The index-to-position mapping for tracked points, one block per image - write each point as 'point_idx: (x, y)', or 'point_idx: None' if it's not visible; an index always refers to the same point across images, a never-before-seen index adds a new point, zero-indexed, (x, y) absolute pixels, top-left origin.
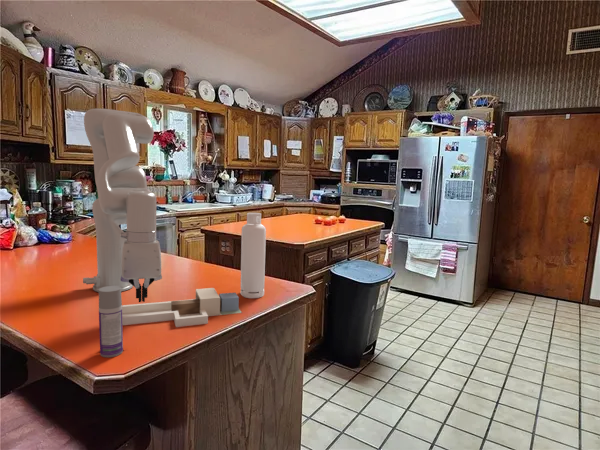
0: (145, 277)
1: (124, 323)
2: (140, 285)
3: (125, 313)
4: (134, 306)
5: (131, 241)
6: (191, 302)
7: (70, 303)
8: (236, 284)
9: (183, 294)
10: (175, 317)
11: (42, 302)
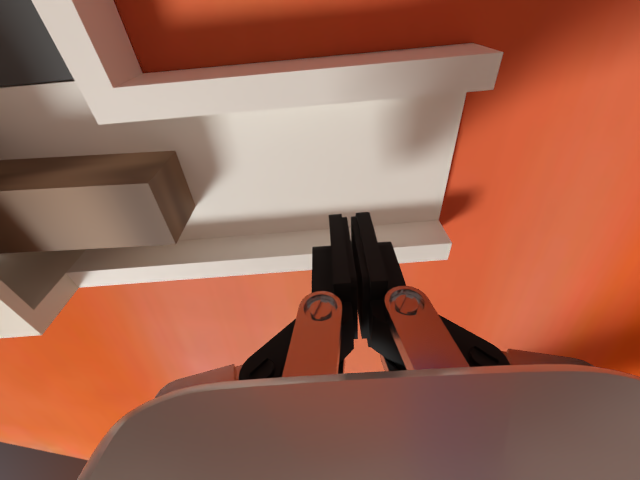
0: (332, 386)
1: (447, 49)
2: (373, 322)
3: (415, 222)
4: None
5: None
6: (23, 205)
7: (566, 338)
8: (42, 405)
9: (202, 361)
10: None
11: (634, 351)
